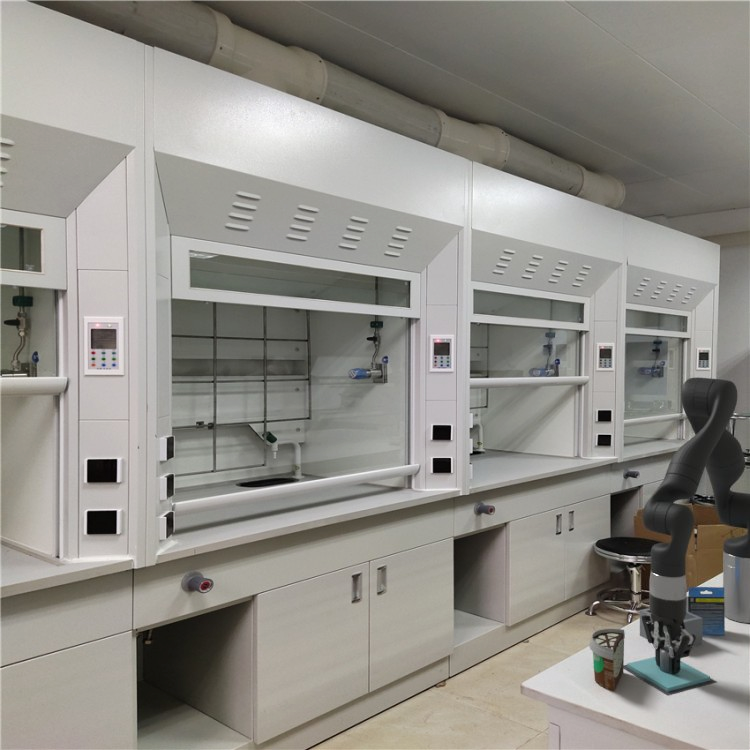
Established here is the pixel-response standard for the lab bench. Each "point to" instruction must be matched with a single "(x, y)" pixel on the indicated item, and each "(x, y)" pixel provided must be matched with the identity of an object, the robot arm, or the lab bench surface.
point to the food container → (608, 656)
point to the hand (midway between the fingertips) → (667, 668)
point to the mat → (669, 691)
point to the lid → (667, 672)
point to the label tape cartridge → (708, 608)
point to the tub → (690, 621)
